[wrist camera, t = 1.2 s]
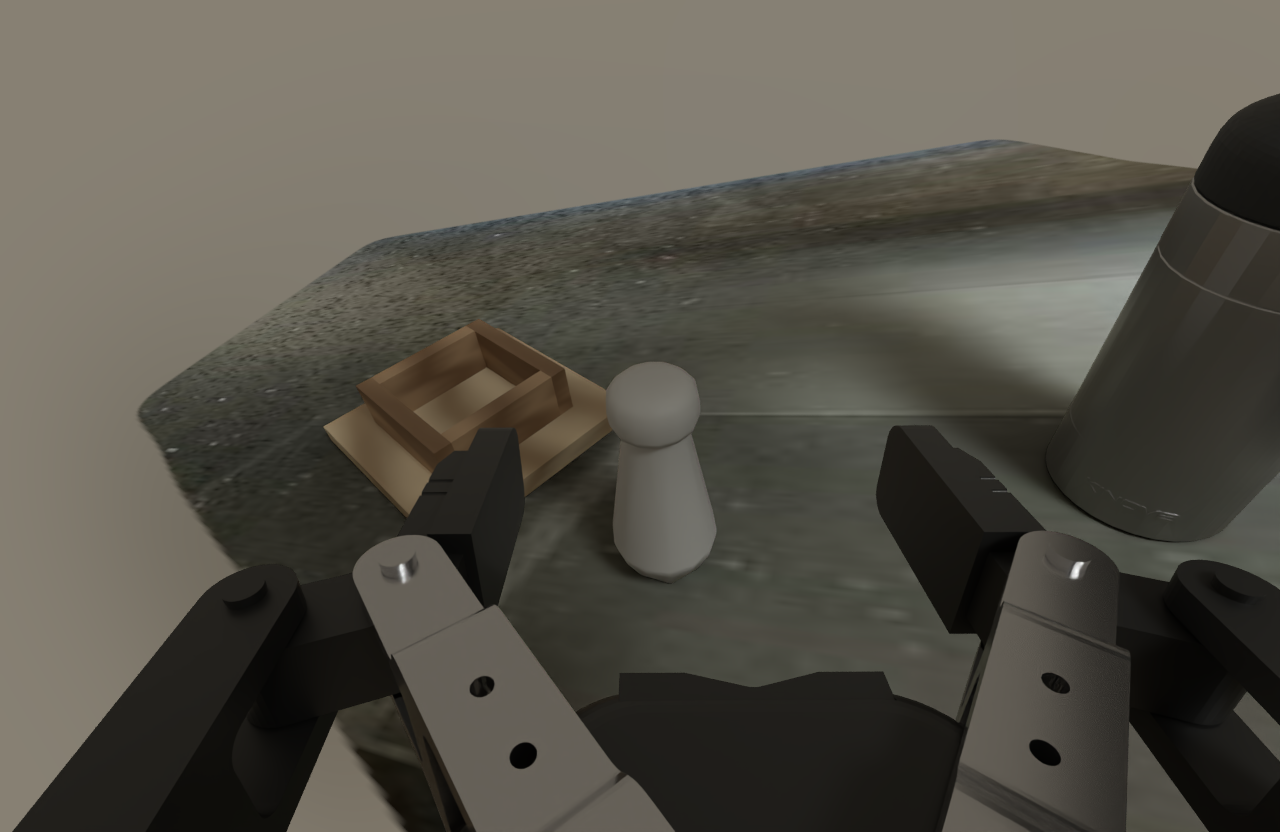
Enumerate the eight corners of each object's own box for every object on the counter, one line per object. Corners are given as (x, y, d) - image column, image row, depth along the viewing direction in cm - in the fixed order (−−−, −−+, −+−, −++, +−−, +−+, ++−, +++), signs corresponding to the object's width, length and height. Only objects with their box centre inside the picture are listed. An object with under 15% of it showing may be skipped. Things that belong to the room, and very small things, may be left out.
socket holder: (502, 341, 52) (487, 292, 49) (629, 417, 44) (621, 363, 40) (332, 441, 44) (300, 390, 41) (445, 557, 36) (417, 505, 32)
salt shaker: (598, 566, 34) (557, 397, 26) (652, 499, 38) (632, 330, 29) (684, 614, 32) (671, 444, 23) (734, 538, 35) (739, 364, 26)
